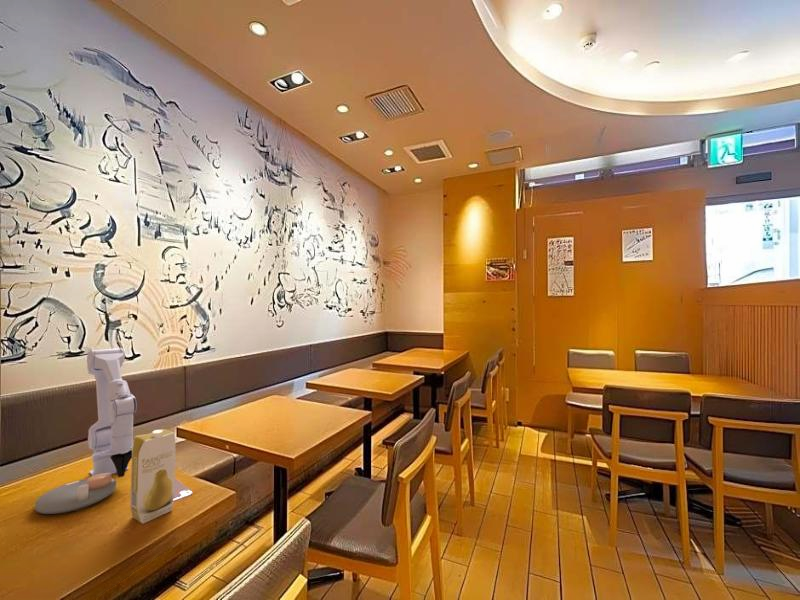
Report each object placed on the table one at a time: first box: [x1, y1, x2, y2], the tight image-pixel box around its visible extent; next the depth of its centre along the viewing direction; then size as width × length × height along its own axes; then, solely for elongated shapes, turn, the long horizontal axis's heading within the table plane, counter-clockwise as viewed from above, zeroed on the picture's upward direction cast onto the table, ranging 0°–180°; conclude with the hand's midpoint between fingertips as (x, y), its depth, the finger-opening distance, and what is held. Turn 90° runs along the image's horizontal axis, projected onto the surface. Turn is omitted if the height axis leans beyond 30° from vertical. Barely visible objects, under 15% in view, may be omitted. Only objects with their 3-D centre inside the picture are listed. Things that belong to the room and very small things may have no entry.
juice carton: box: [130, 428, 176, 525], centre depth 99 cm, size 9×8×24 cm
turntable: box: [34, 478, 117, 515], centre depth 105 cm, size 18×18×5 cm
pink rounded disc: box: [86, 473, 113, 490], centre depth 109 cm, size 6×6×2 cm
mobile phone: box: [173, 478, 193, 503], centre depth 111 cm, size 8×1×15 cm
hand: (120, 475), depth 113 cm, fingers closed
